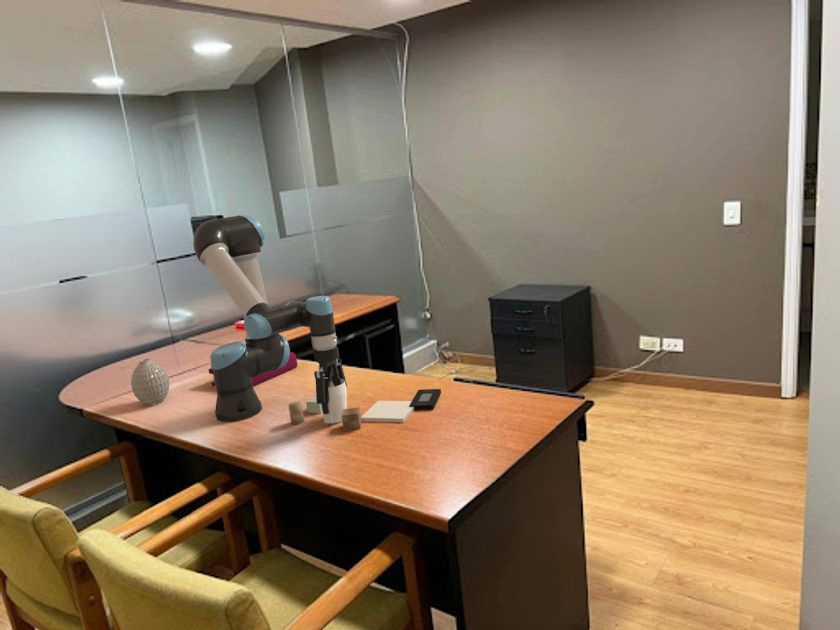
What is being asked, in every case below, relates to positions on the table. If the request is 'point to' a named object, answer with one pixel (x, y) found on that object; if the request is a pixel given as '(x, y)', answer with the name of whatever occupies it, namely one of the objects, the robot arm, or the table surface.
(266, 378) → the book
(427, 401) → the vhs tape
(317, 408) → the sage block
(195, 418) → the table surface
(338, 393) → the cup
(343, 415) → the walnut cube
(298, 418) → the oak cylinder
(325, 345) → the robot arm
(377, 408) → the tile
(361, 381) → the table surface
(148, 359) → the vase
